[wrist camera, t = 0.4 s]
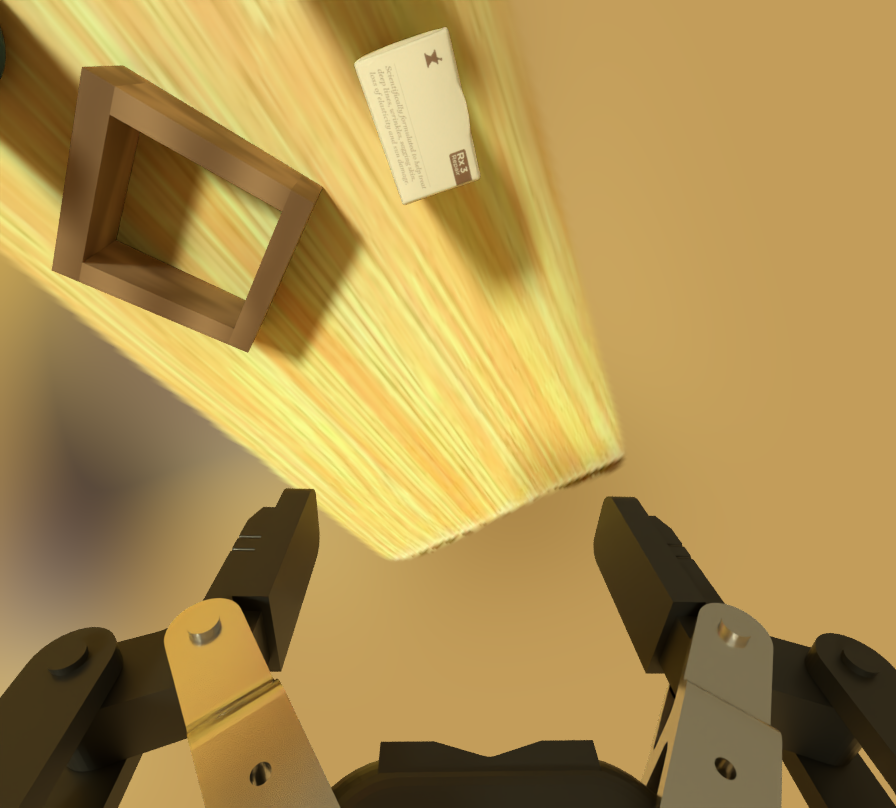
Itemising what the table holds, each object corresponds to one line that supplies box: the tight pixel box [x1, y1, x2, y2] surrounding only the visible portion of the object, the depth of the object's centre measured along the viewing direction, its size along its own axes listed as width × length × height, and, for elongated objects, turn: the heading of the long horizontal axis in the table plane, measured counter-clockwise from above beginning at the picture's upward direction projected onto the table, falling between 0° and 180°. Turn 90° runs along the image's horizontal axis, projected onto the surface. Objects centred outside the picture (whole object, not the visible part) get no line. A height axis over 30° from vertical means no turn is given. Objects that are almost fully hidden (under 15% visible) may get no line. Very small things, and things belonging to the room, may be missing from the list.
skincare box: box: [354, 27, 480, 205], centre depth 24 cm, size 6×4×12 cm
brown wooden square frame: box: [52, 66, 323, 353], centre depth 30 cm, size 13×13×4 cm
